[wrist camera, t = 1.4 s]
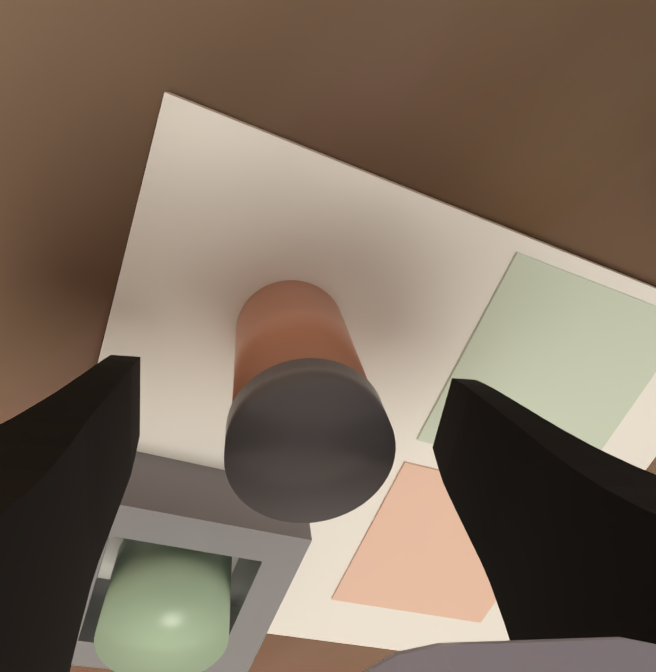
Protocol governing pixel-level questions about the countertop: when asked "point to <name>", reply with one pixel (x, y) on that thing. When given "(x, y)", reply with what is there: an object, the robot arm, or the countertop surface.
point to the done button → (164, 609)
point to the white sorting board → (378, 364)
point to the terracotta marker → (302, 410)
